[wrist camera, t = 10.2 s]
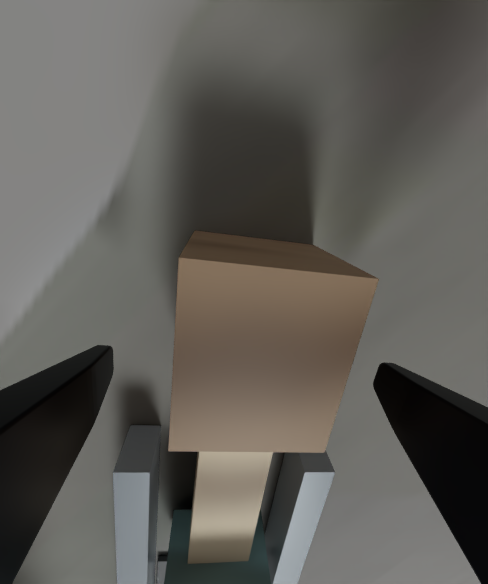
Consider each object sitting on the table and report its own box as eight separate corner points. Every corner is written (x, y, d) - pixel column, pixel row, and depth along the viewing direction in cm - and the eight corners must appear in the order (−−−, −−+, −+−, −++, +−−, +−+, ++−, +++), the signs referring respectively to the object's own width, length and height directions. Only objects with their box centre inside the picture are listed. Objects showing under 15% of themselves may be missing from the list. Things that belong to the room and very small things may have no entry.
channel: (269, 591, 20) (276, 643, 18) (131, 600, 19) (120, 658, 16) (316, 429, 15) (335, 472, 13) (130, 425, 14) (113, 472, 11)
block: (286, 362, 13) (324, 453, 9) (185, 357, 13) (168, 451, 8) (312, 244, 11) (378, 279, 7) (194, 230, 11) (178, 257, 6)
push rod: (252, 540, 17) (265, 656, 12) (171, 543, 16) (155, 667, 12) (290, 373, 13) (328, 462, 8) (183, 367, 12) (166, 461, 8)
